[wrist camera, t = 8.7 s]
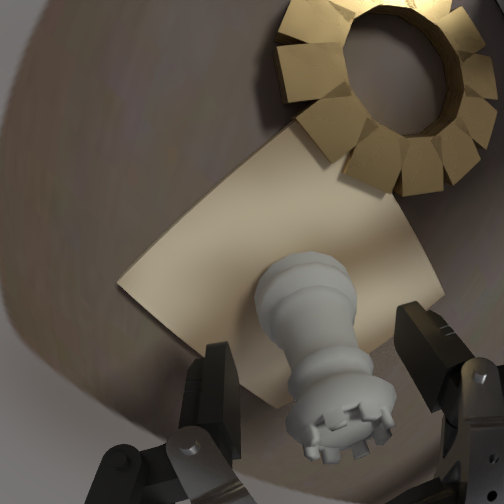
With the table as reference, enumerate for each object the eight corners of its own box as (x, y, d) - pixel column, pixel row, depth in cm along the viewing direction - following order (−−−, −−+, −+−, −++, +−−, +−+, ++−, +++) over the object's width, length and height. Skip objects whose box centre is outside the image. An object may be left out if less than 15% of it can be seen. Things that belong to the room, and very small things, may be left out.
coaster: (436, 285, 16) (444, 294, 15) (275, 397, 18) (277, 409, 17) (318, 100, 12) (325, 98, 11) (123, 272, 14) (116, 282, 13)
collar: (504, 116, 12) (520, 118, 10) (374, 232, 14) (387, 243, 13) (392, -52, 8) (404, -62, 7) (220, 44, 11) (218, 35, 9)
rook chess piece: (239, 265, 13) (239, 423, 6) (338, 232, 13) (434, 359, 6) (270, 341, 15) (289, 488, 8) (355, 313, 15) (421, 445, 7)
